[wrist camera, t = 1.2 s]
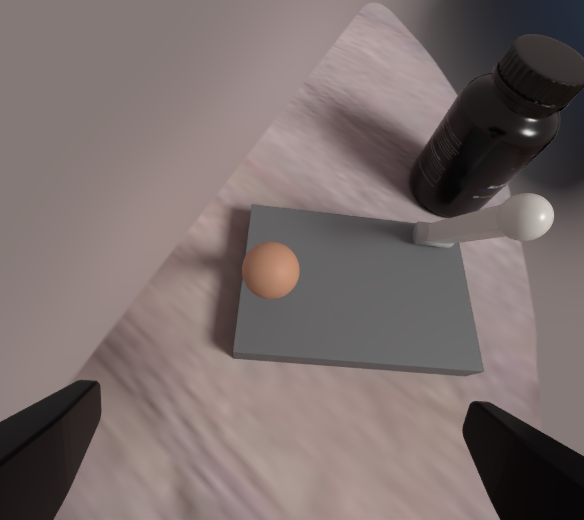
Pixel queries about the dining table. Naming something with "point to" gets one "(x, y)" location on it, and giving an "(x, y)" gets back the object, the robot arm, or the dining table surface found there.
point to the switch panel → (359, 298)
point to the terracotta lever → (270, 270)
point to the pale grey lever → (490, 223)
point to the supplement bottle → (497, 126)
